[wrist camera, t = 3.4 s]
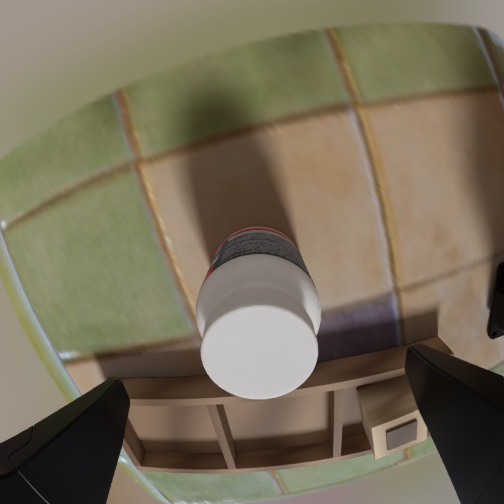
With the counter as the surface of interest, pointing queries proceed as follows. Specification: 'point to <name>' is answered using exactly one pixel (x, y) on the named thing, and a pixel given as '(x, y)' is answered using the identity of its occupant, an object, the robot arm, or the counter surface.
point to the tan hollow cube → (391, 416)
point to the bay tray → (256, 419)
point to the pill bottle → (258, 315)
